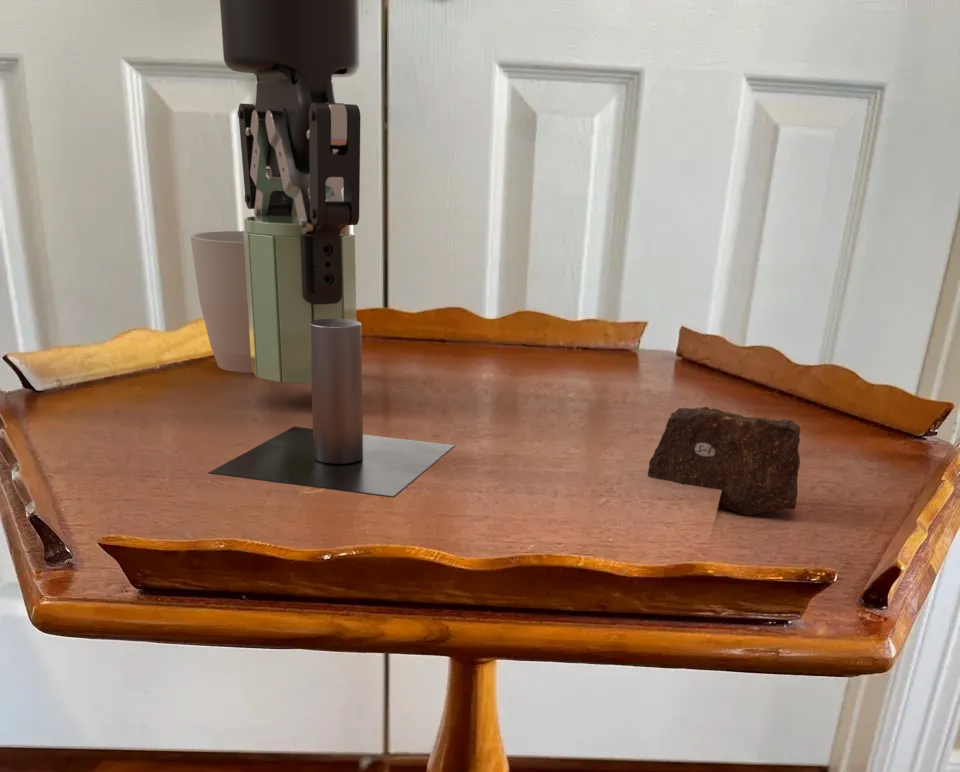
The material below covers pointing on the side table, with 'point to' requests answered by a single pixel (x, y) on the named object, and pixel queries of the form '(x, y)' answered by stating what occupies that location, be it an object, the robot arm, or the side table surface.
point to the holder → (337, 430)
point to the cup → (224, 296)
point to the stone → (731, 458)
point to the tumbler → (287, 297)
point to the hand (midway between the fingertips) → (301, 293)
